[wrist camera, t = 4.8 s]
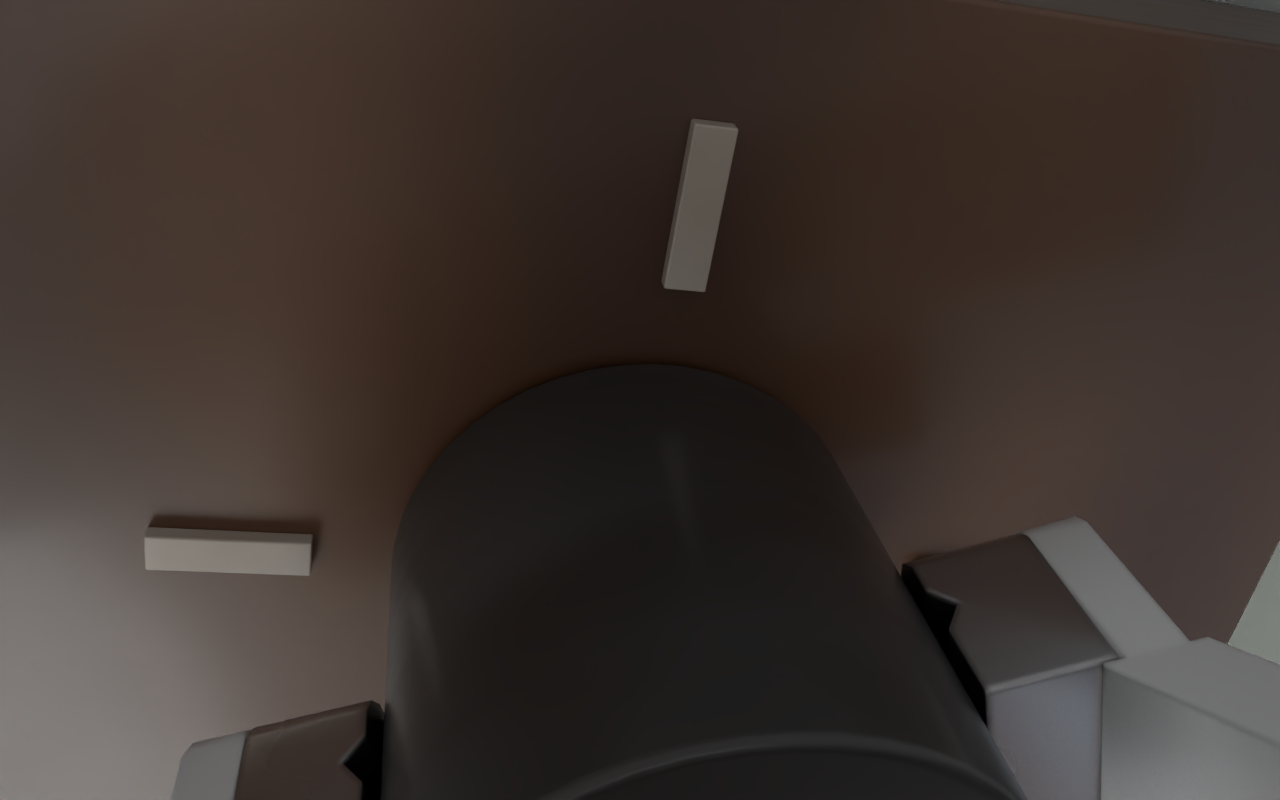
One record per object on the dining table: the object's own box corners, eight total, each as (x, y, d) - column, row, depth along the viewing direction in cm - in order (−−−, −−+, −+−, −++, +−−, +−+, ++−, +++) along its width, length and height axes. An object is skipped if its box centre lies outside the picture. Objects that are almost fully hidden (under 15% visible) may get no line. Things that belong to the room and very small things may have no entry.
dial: (835, 313, 10) (1114, 703, 6) (863, 683, 12) (1080, 1155, 8) (332, 418, 10) (262, 898, 6) (452, 777, 12) (463, 1312, 8)
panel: (1294, 14, 13) (1529, 86, 10) (990, 756, 18) (1092, 939, 15) (-142, -222, 10) (-361, -210, 7) (-18, 751, 15) (-119, 977, 12)
